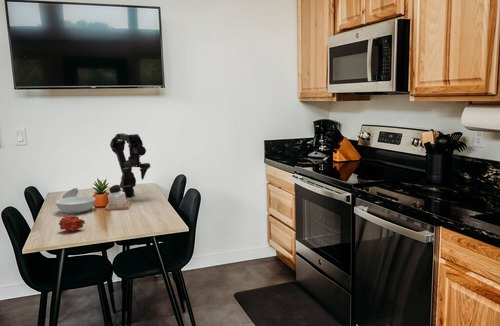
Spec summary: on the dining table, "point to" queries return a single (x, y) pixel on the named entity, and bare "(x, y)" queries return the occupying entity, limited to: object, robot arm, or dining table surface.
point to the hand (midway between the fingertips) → (136, 179)
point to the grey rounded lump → (71, 193)
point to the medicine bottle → (116, 196)
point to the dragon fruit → (71, 223)
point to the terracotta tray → (119, 207)
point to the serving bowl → (75, 204)
